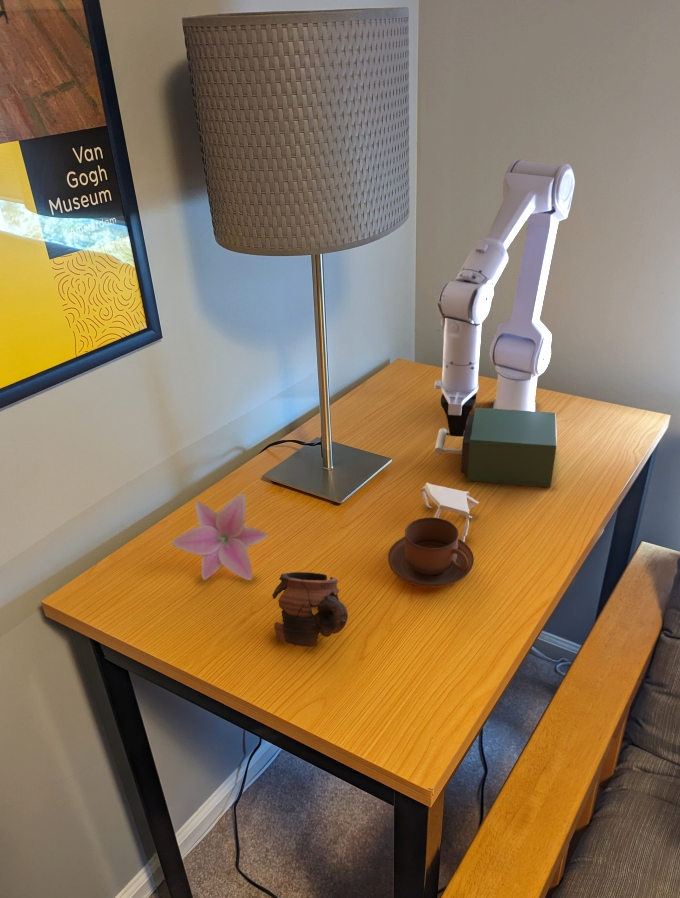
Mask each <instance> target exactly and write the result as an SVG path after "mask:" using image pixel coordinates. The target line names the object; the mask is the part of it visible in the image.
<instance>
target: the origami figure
mask: <svg viewBox="0 0 680 898" xmlns="http://www.w3.org/2000/svg"><path fill="white" fill-rule="evenodd" d="M419 492H420V494H421V497H422V499H423V501H424V504H425V506H426V507H427V508H429V509H432V508H433V506H431V505H430V504H429V501H428V498H429V499H430V500H431V501H432V503H434V504H435V505H436V506H437V507H438V508H437V510H436V512H435V514H434V516H433V518H440V515H441V514H442V511H448V512H451V513H454V514H457V515H461V516H463V517H465V523H464V529H463V532H462V533H461V541H463V542H464V543H465V541H466V537H467V536H468V533H469V527H470V519H472V518H473V516H472V515H470V510H472V509H473V508H474V507H475V506H477V505H478V504H479V503H480V502H479V501H478V500H476V499H475V498H473V497H472V496H470V495H469V494H470V493H471V492H470V491H465V490H460V489H455V488H450V487H446V486H441V485H437V484H433V483H429V482H426V483H425V484H424V485H423V487H422V488H421V490H420V491H419ZM427 496H428V498H427Z"/></svg>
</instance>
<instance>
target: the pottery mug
mask: <svg viewBox="0 0 680 898" xmlns="http://www.w3.org/2000/svg"><path fill="white" fill-rule="evenodd" d="M279 580H280V583H279V584H277V586H276V587H275V589H274V591H273V593H272V594H271V597H272V599H273V600H275V599H277V597H278V595H279V594H281V595H280V596H279V598H278V608H280V610H281V617H282V622H281V623H280V622H278V621H276V622H274V624H273V627H274V634H275V638H276V640H277V641H279V642H282V643H286V644H290V645H293V646H298V647H299V646H300V647H316V646H317V645H318V639H319V635H321V636H322V637H325V638H329V637H330V636H331V635H333V634H338V633H340V632H342V630H343V629H344V628H345V626H346V624H347V622H348V619H349V614H348V609H347V607H346V606H345V604H344V603H342V601H340V599H339V593H340V589H339V588H338V582H339V579H338V578H337V577H333V576H330V578H329V579H328V576H327V574H325V573H319V572H318V573H317V572H309V571H307V572H306V571H304V572H303V571H294V572H293V571H291V572H285V573H282V574H280V577H279ZM313 608H316V609H317V612H316V613H315V614H314V613H313V610H312V609H313Z"/></svg>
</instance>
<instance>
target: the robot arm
mask: <svg viewBox="0 0 680 898" xmlns="http://www.w3.org/2000/svg"><path fill="white" fill-rule="evenodd" d="M575 183H576V179H575V175H574V171H573V168H572V166H571V164H568V163H562V164H560V163H558V164H557V163H551V162H550V163H549V162H542V161H541V162H539V161H530V160H529V161H528V160H522V159H521V158H516V159H514V160H512V161H511V163H510V164H509V166H508V167H507V168H506V171H505V174H504V177H503V182H502V199H503V200H502V203H500V207H499V209H498V211H497V213H496V215H495V218H494V220H493V223H492V224H491V227H490V229H489V232H488V233H487V236H486V238H482V239H478V240H477V241H476V242H475V243H474V245H473V247H472V249H471V250H470V252H469V254H468V255H467V258H466V259H465V261H464V263H463V265H462V266H461V268H460V270H459V272H458V273H457V275H456V277H455V279H452V280H450V281H447V282H446V283H445V284H444V285H443V286H442V288H441V290H440V293H439V297H438V301H437V303H436V308H437V312H438V315H439V317H440V327H441V329H442V330H443V348H442V349H443V350H442V369H441V370H442V371H441V380H439V379H437V380H435V381H434V386H433V387H434V389H435V390H440V391H441V393H442V394H441V397H440V405H441V408H442V410H443V411H444V414H445V417H446V421H447V428H448V431H449V433H450V437H458V438H463V437H462V436H463V434H464V431H465V426H466V422H467V419H468V416H469V414H471V413H472V411H473V409H474V408H475V406H476V401H477V396H478V391H479V382H478V381H479V367H480V352H481V338H482V325H483V322H484V321H485V319H486V318H487V317H488V315H489V312H490V310H491V305H492V299H493V297H494V294H495V291H494V288H495V286H496V284H497V282H498V280H499V278H500V277H501V275H502V273H503V271H504V269H505V268H506V265H507V264H508V262H509V254H508V251H507V249H508V248H509V247H510V245H511V244H512V242H513V241H514V239H515V237H516V236H517V234H518V233H519V232H520V230H521V229H522V227H523V225H524V224H525V222H526V223H527V227H526V233H525V239H524V244H523V249H522V250H523V251H522V254H521V255H522V256H521V260H520V266H519V270H518V271H519V272H518V276H517V278H518V279H517V283H516V288H515V292H514V293H515V294H514V300H513V305H512V310H511V316H510V318H508V319H506V320H504V321H503V322H501V323H500V324H498V325H497V327H496V330H495V333H494V336H493V339H492V341H491V344H490V347H489V360H490V363H491V364H492V365H493V366H494V367H495V368H494V372H496V373H497V381H496V394H495V398H494V399H493V405H492V409H505V410H520V411H535V412H536V402H535V400H536V391H537V384H538V377H540V376H541V375H542V374H544V372H545V371H546V369H547V368H548V366H549V364H550V360H551V355H552V348H551V345H552V333H551V331H550V330H549V329H548V327H546V325H545V324H544V323H543V322H542V321H541V319H540V317H541V313H542V309H543V302H544V298H545V292H546V287H547V282H548V277H549V274H550V273H549V272H550V267H551V262H552V257H553V252H554V248H555V247H554V246H555V242H556V238H557V237H556V236H557V230H558V226H559V222H561V221H563V220H566V219H567V218H568V216H569V212H570V209H571V205H572V201H573V195H574V189H575V185H576V184H575Z"/></svg>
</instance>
